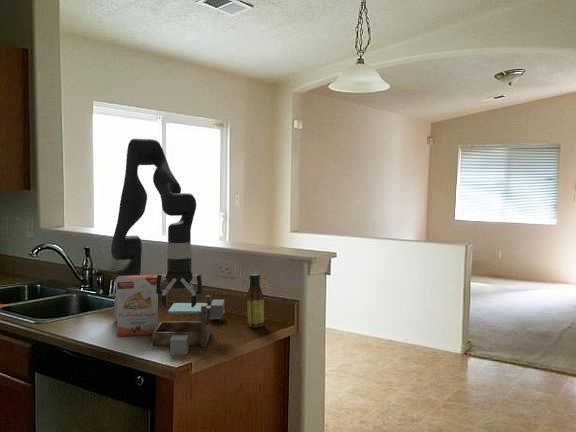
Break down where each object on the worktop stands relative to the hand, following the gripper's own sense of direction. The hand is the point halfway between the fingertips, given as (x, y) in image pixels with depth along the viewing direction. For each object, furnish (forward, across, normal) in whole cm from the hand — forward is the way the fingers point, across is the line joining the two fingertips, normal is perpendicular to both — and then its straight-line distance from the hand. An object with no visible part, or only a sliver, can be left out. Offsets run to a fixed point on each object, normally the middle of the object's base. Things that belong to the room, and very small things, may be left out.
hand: (179, 306), depth 167 cm
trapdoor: (+6, +4, +14) cm, 16 cm away
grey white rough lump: (+15, +8, +40) cm, 44 cm away
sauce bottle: (+15, +24, +31) cm, 42 cm away
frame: (+15, -1, +14) cm, 20 cm away
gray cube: (+15, 0, 0) cm, 15 cm away
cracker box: (+15, -18, +21) cm, 32 cm away
